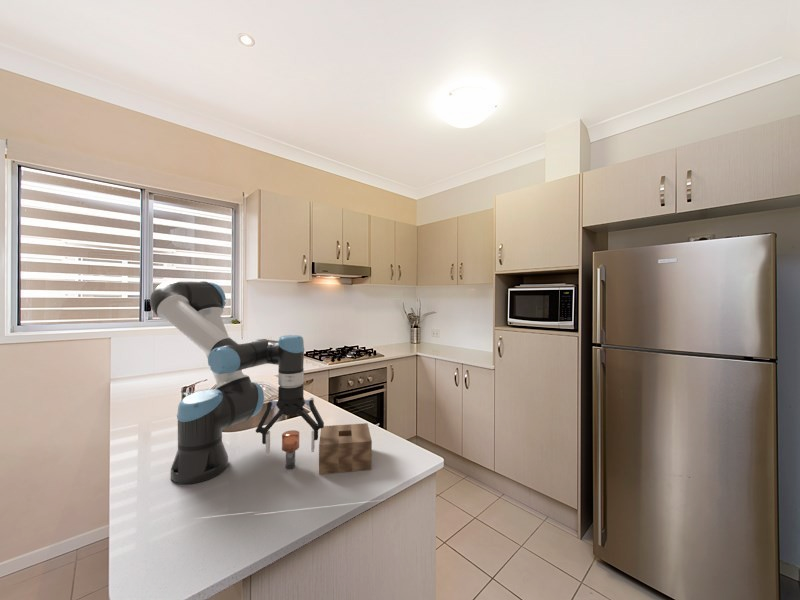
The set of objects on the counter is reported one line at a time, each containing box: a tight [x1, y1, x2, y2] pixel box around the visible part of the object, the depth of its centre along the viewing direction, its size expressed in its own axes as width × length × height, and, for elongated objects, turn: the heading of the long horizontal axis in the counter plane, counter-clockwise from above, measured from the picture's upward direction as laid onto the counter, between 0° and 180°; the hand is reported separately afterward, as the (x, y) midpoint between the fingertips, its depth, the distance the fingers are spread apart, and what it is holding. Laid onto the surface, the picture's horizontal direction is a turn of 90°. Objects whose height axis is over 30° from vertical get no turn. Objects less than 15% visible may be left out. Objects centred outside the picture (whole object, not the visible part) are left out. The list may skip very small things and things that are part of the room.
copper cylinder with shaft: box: [281, 429, 300, 470], centre depth 101 cm, size 5×5×10 cm
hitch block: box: [318, 422, 373, 475], centre depth 106 cm, size 16×14×9 cm
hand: (290, 451), depth 101 cm, fingers open, 13 cm apart
